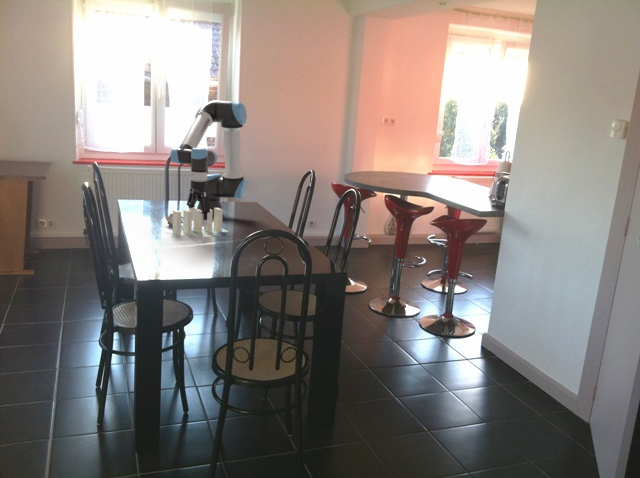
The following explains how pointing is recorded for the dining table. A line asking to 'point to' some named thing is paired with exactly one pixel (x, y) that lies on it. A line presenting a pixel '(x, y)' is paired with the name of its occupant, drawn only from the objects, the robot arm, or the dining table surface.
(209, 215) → the domino
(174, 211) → the domino
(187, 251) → the dining table surface
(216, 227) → the domino
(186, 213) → the domino
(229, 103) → the robot arm
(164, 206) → the dining table surface
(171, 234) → the board
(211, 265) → the dining table surface
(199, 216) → the domino
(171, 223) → the game die
